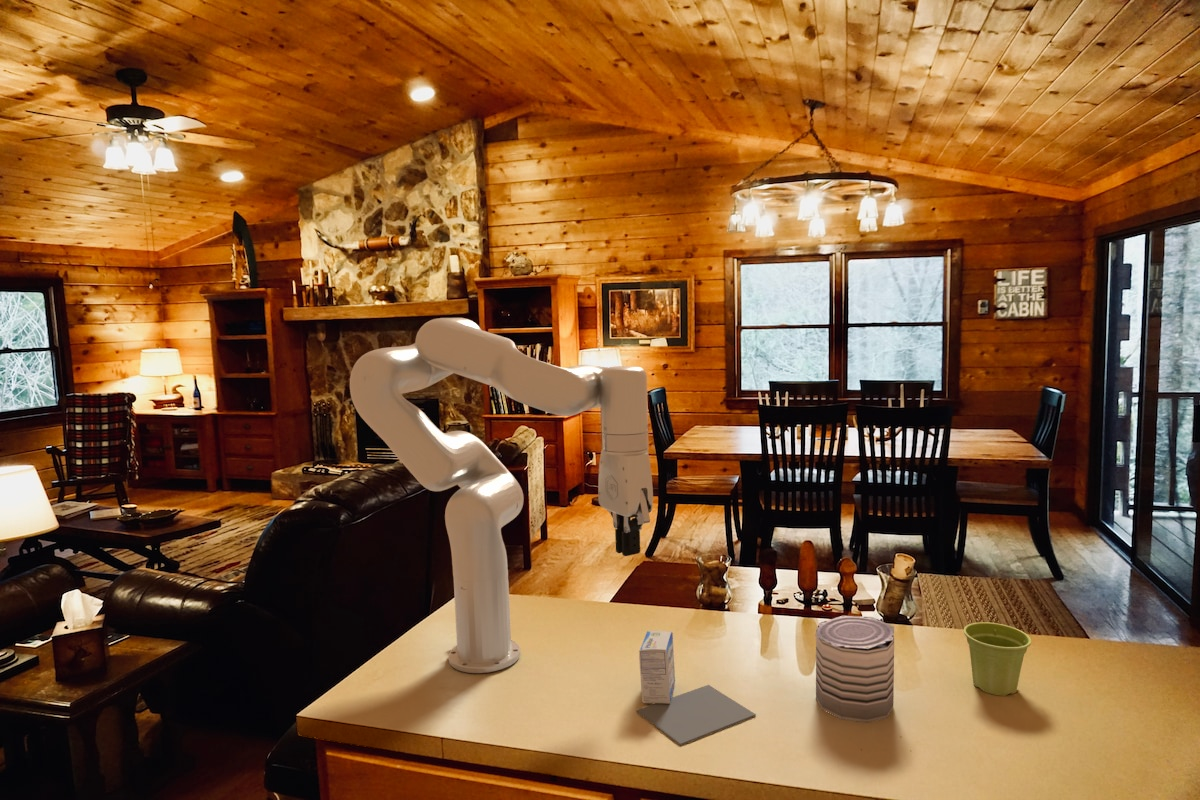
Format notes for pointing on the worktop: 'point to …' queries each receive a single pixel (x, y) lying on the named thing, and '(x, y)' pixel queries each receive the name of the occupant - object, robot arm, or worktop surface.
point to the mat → (695, 714)
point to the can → (855, 668)
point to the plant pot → (996, 656)
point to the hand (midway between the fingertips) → (628, 552)
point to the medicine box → (657, 667)
